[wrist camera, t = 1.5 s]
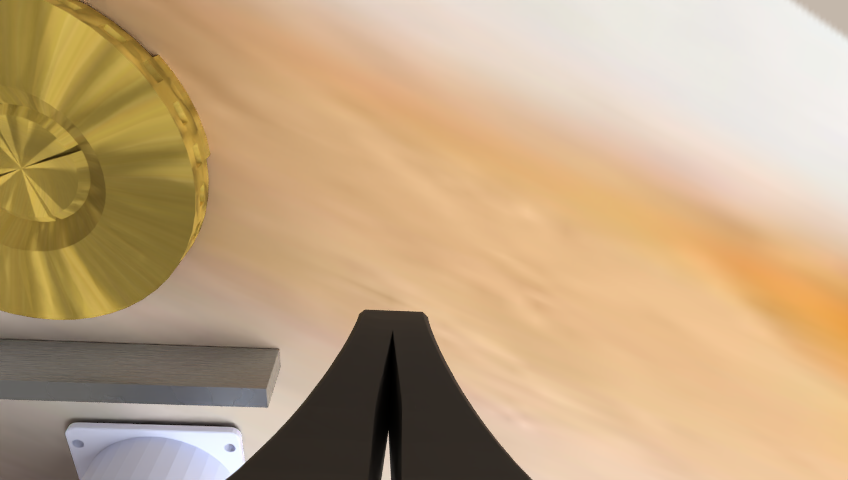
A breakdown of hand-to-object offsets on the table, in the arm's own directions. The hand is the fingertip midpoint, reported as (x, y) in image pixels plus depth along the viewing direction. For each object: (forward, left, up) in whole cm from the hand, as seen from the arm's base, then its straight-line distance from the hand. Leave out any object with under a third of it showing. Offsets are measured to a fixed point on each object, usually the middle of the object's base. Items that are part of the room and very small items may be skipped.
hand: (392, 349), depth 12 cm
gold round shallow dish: (0, +13, -11) cm, 17 cm away
